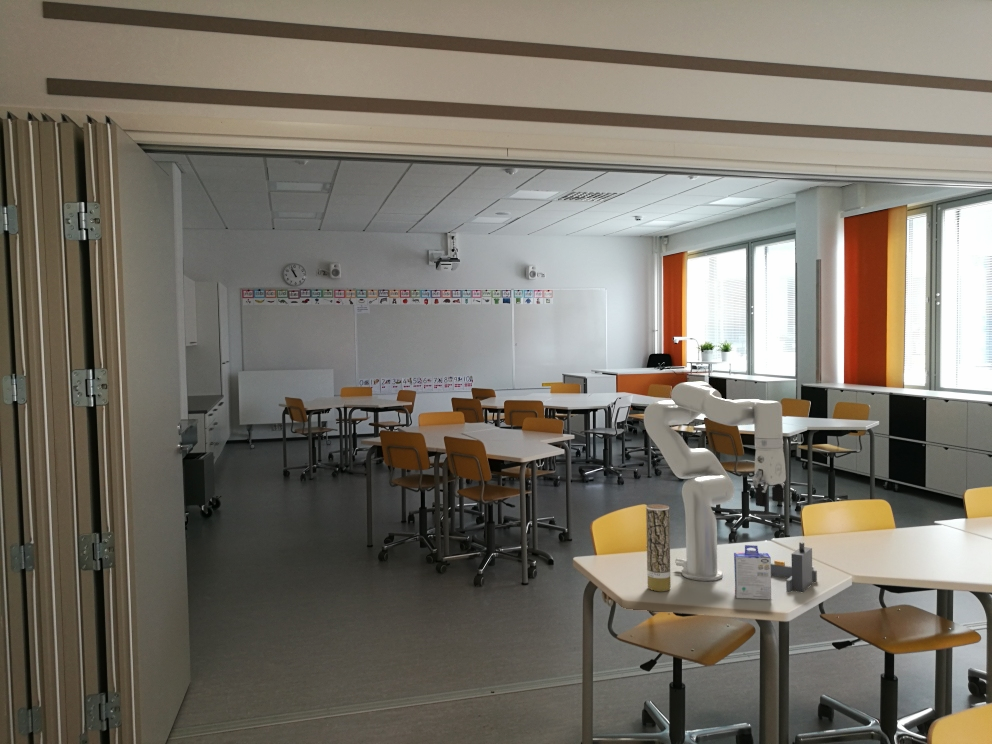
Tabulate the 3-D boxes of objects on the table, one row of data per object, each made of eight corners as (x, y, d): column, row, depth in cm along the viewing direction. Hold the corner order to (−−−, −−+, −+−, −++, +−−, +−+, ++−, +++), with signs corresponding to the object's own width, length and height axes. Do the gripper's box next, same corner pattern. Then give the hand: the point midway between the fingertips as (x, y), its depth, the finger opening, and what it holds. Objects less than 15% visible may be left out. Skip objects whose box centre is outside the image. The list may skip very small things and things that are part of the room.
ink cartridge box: (769, 594, 209) (768, 544, 209) (772, 600, 204) (771, 549, 203) (733, 592, 211) (733, 543, 211) (736, 598, 206) (735, 548, 205)
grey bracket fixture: (739, 583, 219) (738, 539, 219) (756, 571, 231) (755, 530, 231) (802, 594, 208) (801, 548, 207) (817, 581, 219) (816, 538, 219)
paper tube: (666, 593, 211) (664, 509, 211) (644, 590, 215) (642, 507, 214) (673, 587, 217) (672, 505, 217) (652, 584, 220) (650, 503, 220)
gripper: (766, 447, 195) (767, 510, 195) (795, 442, 207) (796, 501, 207) (741, 445, 201) (742, 506, 201) (770, 440, 212) (771, 497, 212)
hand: (769, 503), depth 204 cm, fingers open, 9 cm apart
